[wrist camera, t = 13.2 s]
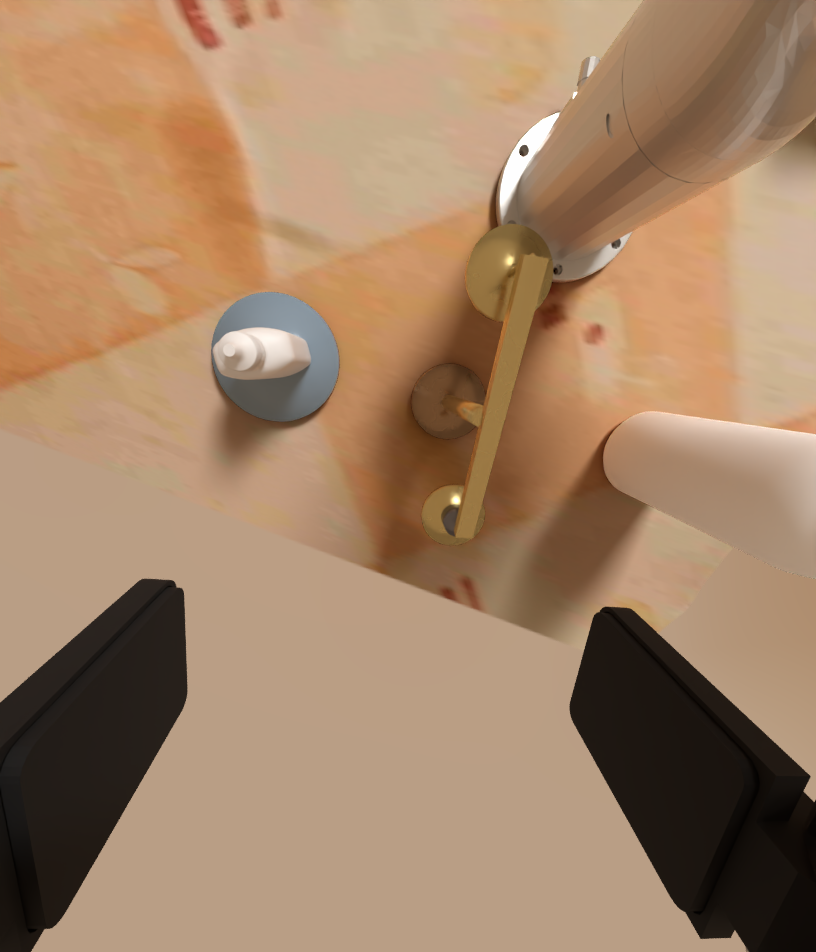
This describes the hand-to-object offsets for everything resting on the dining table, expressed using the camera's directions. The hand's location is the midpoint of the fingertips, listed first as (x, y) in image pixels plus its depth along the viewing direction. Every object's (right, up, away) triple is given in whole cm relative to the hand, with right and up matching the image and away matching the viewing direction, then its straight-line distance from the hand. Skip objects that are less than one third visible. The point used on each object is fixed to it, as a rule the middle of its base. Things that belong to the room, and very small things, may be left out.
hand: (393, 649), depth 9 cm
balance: (+4, +11, +29) cm, 31 cm away
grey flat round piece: (-11, +15, +27) cm, 32 cm away
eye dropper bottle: (-11, +15, +26) cm, 31 cm away
